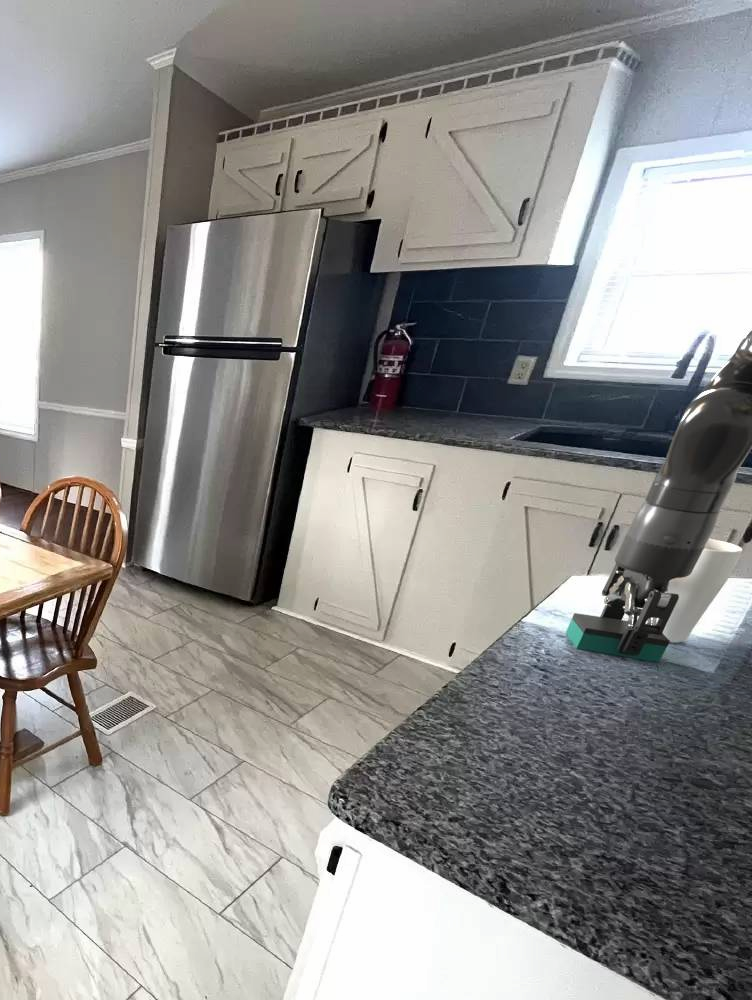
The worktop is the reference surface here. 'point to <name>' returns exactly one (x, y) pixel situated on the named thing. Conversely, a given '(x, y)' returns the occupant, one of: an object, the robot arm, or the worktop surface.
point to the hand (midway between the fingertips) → (615, 640)
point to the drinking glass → (700, 587)
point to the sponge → (610, 637)
